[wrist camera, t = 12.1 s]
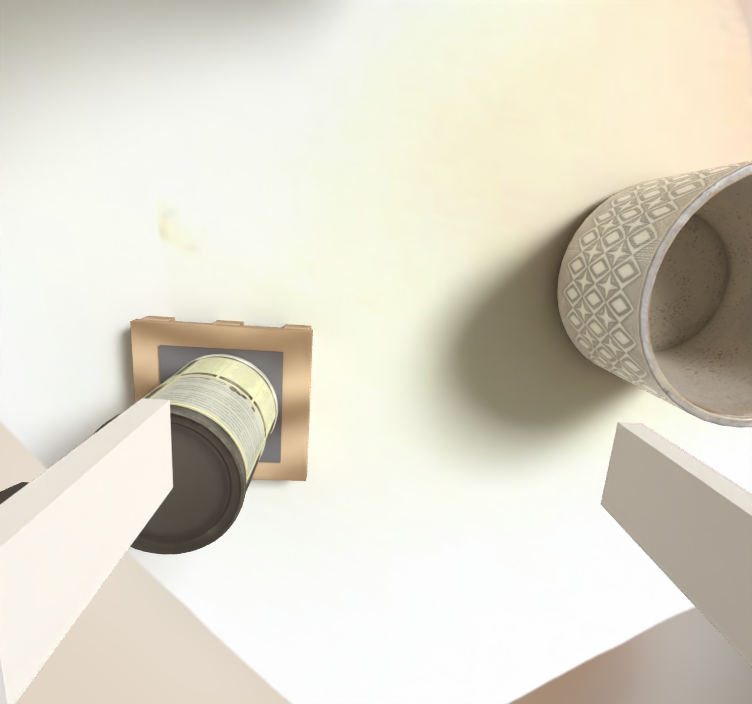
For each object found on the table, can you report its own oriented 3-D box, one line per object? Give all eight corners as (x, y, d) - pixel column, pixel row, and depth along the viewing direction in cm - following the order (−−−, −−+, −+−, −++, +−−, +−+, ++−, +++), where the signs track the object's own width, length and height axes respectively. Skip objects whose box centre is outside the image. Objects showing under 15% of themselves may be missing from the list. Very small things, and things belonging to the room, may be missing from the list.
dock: (145, 315, 43) (128, 321, 40) (314, 326, 44) (311, 332, 41) (152, 459, 47) (137, 475, 44) (308, 466, 48) (305, 482, 45)
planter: (770, 287, 46) (954, 309, 32) (619, 407, 48) (728, 476, 34) (672, 136, 42) (831, 84, 28) (512, 274, 44) (585, 290, 30)
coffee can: (273, 463, 44) (236, 563, 30) (164, 449, 43) (75, 546, 30) (285, 361, 42) (251, 420, 28) (170, 344, 41) (77, 397, 27)
